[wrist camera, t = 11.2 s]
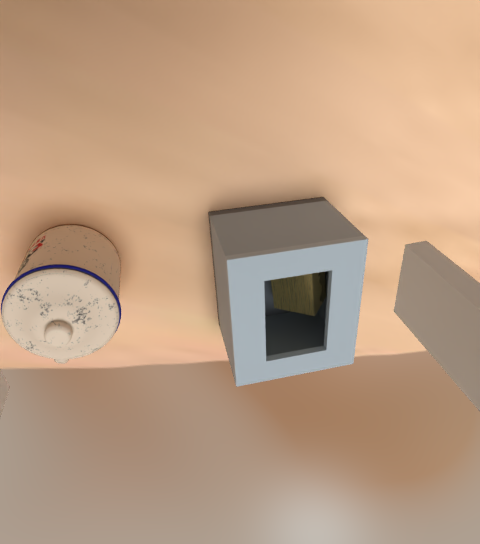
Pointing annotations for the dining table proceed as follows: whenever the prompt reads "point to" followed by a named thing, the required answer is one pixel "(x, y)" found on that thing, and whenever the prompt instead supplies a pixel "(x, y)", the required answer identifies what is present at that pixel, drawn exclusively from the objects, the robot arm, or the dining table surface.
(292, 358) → the grey box with opening
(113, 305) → the teacup with lid
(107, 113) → the dining table surface
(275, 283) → the rectangular block
